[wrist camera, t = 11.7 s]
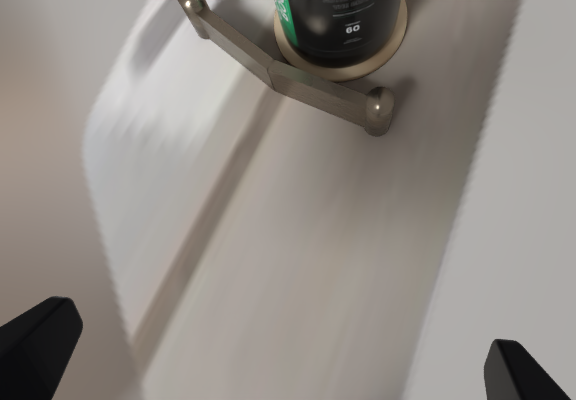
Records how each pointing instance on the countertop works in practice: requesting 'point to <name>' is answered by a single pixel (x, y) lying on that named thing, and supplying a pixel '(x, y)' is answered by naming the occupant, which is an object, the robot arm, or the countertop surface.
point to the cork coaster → (348, 72)
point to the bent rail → (294, 75)
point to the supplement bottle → (337, 29)
